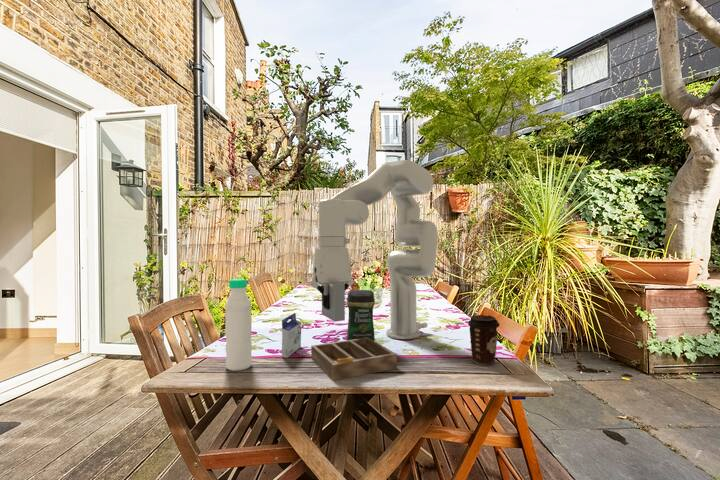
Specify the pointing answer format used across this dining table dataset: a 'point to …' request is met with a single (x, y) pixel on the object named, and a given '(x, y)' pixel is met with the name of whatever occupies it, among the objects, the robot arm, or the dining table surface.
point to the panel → (336, 302)
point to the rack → (363, 349)
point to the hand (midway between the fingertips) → (332, 307)
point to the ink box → (290, 335)
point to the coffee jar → (360, 314)
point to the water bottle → (238, 327)
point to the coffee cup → (483, 338)
